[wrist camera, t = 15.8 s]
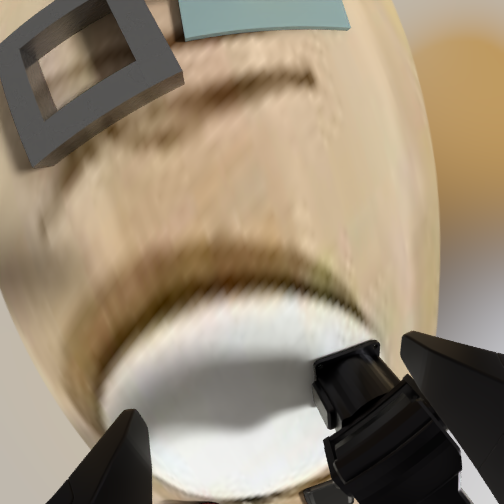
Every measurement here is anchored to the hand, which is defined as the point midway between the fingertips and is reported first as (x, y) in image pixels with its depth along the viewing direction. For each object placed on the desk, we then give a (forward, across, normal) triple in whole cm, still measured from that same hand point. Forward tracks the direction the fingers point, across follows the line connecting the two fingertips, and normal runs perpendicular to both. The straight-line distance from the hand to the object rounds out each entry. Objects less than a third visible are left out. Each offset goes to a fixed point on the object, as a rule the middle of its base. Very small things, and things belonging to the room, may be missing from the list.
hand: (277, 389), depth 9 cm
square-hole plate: (+13, +7, -16) cm, 22 cm away
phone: (+14, -6, +44) cm, 46 cm away
